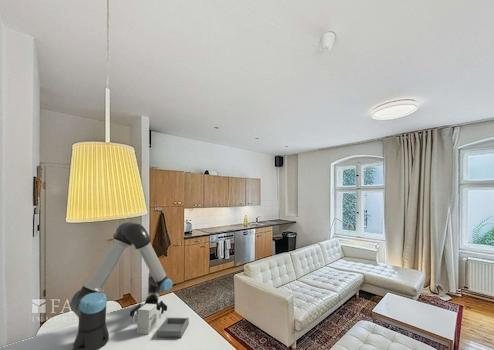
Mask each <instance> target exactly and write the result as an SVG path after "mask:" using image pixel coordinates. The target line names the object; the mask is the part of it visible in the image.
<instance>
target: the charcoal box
mask: <svg viewBox="0 0 494 350" xmlns="http://www.w3.org/2000/svg"><path fill="white" fill-rule="evenodd" d="M189 319H190V318H189V317H166V318H165V320H164V321H163V323H162V324H161V325H160V327H159V328H158V329H157V330H156V338H157V339H158V338H159V339H182V337H183V335H184V333H185V331H186V330H187V329H188V326H189V324H190V320H189Z"/></svg>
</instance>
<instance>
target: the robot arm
mask: <svg viewBox="0 0 494 350" xmlns="http://www.w3.org/2000/svg"><path fill="white" fill-rule="evenodd" d="M112 240H113V244H112V245H111V246H110V248H109V249H108V251H107V253H106V254H105V256H104V258H103V259H102V260H101V262H100V263H99V266H98V267H97V269H96V270H95V271H94V274H92V277H91V278H90V280H89V281H88V282H87V283H85V284H83V286H82V287H81V288H80V289H79V290H77V291H75V293H74V294H73V296H72V297H71V299H70V304H69V305H70V309H71V311H72V312H73V313H74V314H75V315H76V316H77V317H78V328H77V329H78V331H77V334H76V337H75V338H74V342H73V345H72V350H99V349H101V348H103V347H104V346H105V345H107V343H108V342H109V339H110V337H109V336H110V333H109V330H108V327H107V325H106V319H107V317H106V316H107V303H108V300H107V296H106V294H105V289H104V288H105V285H106V284H107V282H108V281H109V279H110V278H111V276H112V274H113V272H114V271H115V269H116V267H117V266H118V264H119V262H120V261H121V259H122V257H123V256H124V254H125V253H126V251H127V249H128V248H132V246H134V249H135V250H138V252H139V254H140V256H141V258H142V260H143V261H144V263H145V265H146V266H147V269H148V271H149V273H148V277H147V278H148V283H147V285H148V287H147V297H146V299H145V302H144V303H143V304H142V302H141V303H138V305H137V306H135V307H134V308H132V309H131V310H130V311H129V316H130V317H131V318H132V323H135V321H136V319H137V317H138V309H139V308H141V307H142V306H143V305H145V304H157V308H156V311H159V313H158V314H159V315H158V318H159V319H161V317H162V314H164V311H165V312H167V311H168V305H167V304H165V303H164V302H163V300H160V301H159V299H160V298H159V297H160V295H161V291H162V292H169V291H170V290H171V289H172V287H173V285H174V284H173V280H172V279H171V278H169V277H168V276H167V275H168V274H167V273H166V272H165V270H164V268H163V266H162V264H161V261H160V260H159V257H158V256H157V253H156V251H155V249H154V248H153V246H152V243H151V242H152V239H151V237H150V236H149V233H148V231H147V230H146V228H145V227H144V226H143V225H142V224H140V223H137V222H132V221H127V222H126V221H125V222H122V223H120V224H119V225H118V226H117V228H116V230H115V236H114V237H113V238H112Z"/></svg>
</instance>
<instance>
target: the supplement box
mask: <svg viewBox="0 0 494 350" xmlns="http://www.w3.org/2000/svg"><path fill="white" fill-rule="evenodd" d="M144 304H145V303H144ZM144 304H142V305H143V306H142V307H141V308H139V309H138V314H137V317H136V319H137V323H136V324H137V325H136V328H137V329H136V333H137V334H142V335H149V334H150V333H151V332H152V331H154V329H155V328H156V327H157V309H156V308H157V304H145V305H144Z"/></svg>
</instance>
